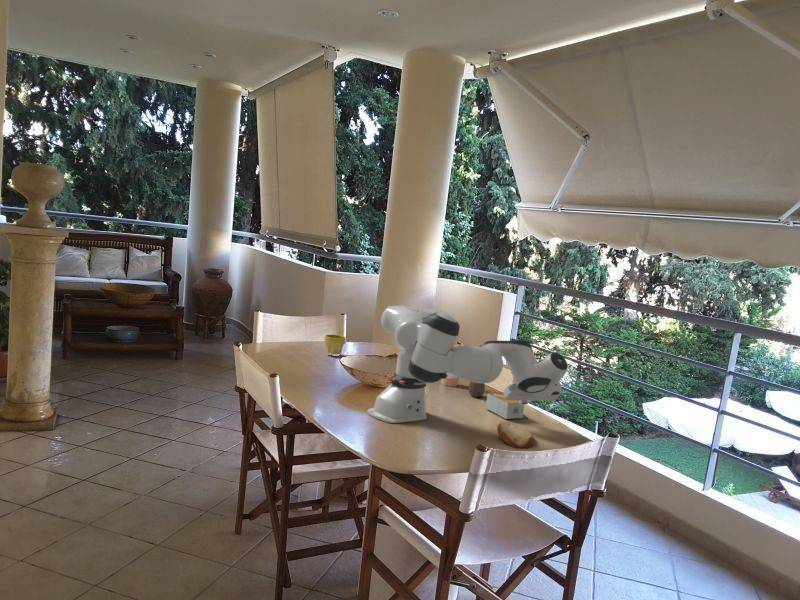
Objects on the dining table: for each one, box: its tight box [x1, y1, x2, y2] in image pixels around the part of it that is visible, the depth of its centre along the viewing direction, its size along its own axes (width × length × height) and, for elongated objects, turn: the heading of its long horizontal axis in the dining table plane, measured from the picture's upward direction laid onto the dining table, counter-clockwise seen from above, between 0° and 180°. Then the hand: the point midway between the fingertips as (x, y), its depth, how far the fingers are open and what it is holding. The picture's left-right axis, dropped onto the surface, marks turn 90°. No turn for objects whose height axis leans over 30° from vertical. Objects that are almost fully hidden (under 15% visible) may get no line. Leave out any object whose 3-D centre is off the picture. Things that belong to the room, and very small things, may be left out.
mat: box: [496, 413, 529, 420], centre depth 231 cm, size 14×11×1 cm
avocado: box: [468, 381, 486, 398], centre depth 250 cm, size 7×7×9 cm
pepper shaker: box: [440, 342, 461, 387], centre depth 264 cm, size 7×7×19 cm
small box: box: [485, 391, 525, 420], centre depth 228 cm, size 8×6×13 cm
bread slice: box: [496, 421, 534, 450], centre depth 203 cm, size 18×18×4 cm
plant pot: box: [324, 333, 347, 355], centre depth 297 cm, size 10×10×10 cm
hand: (522, 402), depth 220 cm, fingers closed
